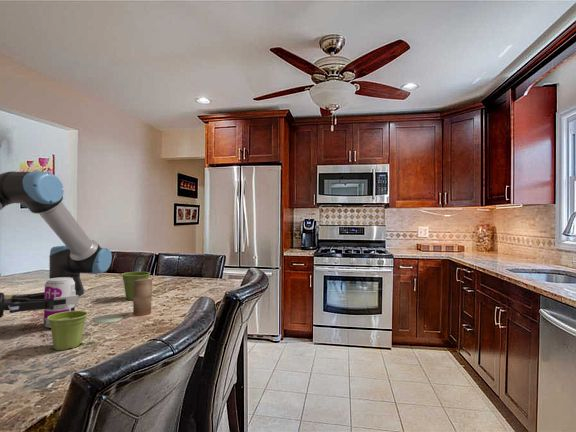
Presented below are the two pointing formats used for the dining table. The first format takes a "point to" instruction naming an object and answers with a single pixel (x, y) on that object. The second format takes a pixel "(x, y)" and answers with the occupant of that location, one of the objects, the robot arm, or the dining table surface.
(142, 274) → the plant pot
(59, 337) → the plant pot
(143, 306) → the walnut canister
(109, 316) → the board
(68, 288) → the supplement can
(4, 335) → the dining table surface
